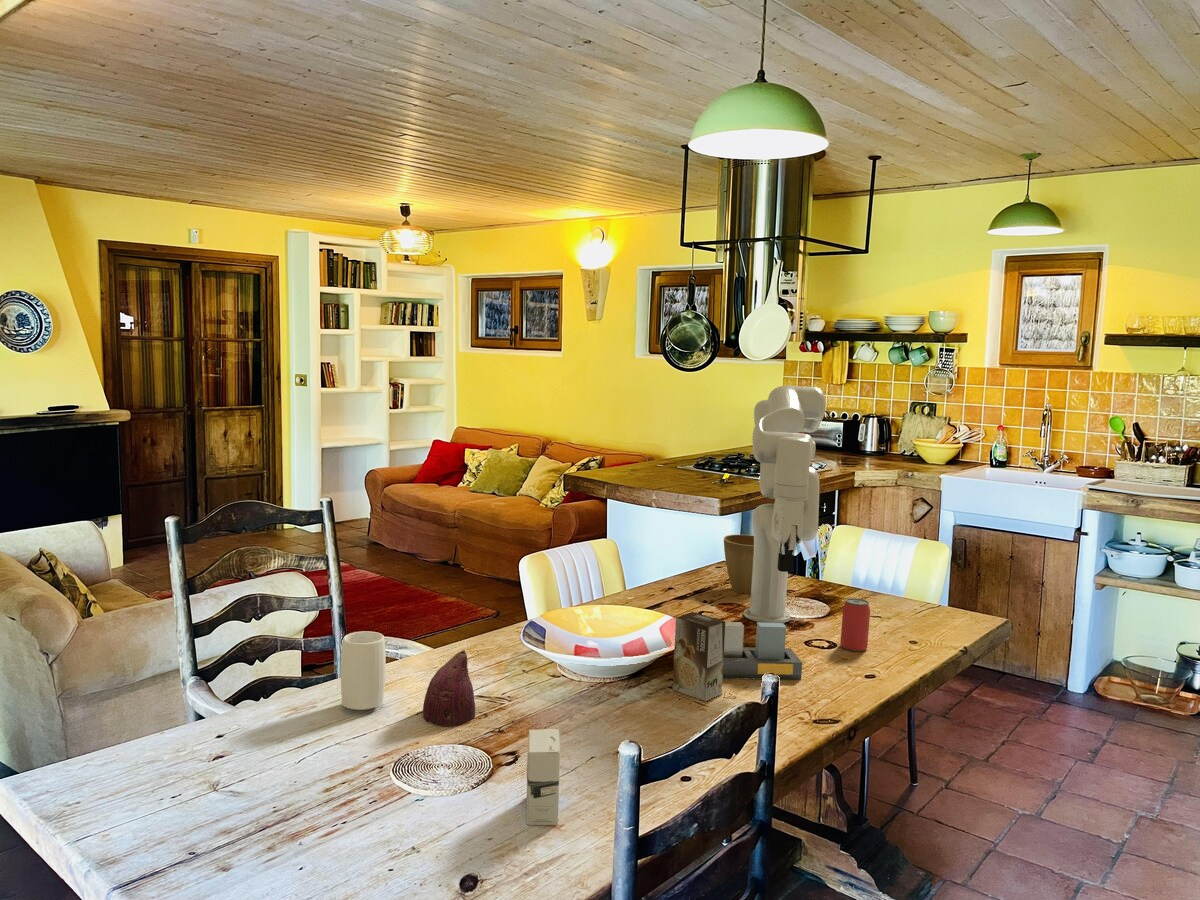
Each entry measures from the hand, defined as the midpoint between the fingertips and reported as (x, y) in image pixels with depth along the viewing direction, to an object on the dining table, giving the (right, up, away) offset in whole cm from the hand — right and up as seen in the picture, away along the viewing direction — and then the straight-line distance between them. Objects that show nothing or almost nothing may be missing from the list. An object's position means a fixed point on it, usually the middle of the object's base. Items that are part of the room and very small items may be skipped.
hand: (785, 570), depth 205 cm
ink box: (-51, -29, -65) cm, 88 cm away
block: (-4, -22, +1) cm, 22 cm away
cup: (-89, -23, -29) cm, 96 cm away
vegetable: (-72, -24, -31) cm, 82 cm away
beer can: (+21, -22, +20) cm, 37 cm away
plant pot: (+2, -16, +70) cm, 72 cm away
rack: (-8, -23, 0) cm, 25 cm away
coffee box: (-22, -24, -13) cm, 35 cm away
